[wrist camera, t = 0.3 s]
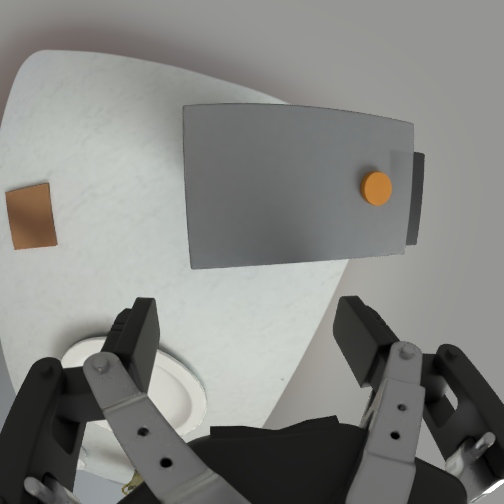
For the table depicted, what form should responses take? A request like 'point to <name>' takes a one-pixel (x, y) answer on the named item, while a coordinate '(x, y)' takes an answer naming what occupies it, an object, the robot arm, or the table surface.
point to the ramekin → (81, 459)
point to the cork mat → (31, 217)
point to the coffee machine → (297, 184)
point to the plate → (157, 386)
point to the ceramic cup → (133, 482)
